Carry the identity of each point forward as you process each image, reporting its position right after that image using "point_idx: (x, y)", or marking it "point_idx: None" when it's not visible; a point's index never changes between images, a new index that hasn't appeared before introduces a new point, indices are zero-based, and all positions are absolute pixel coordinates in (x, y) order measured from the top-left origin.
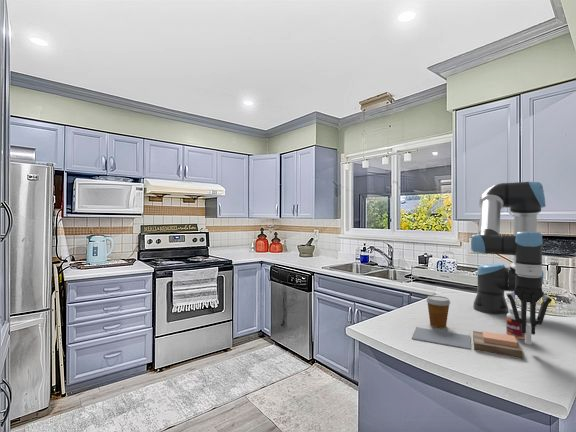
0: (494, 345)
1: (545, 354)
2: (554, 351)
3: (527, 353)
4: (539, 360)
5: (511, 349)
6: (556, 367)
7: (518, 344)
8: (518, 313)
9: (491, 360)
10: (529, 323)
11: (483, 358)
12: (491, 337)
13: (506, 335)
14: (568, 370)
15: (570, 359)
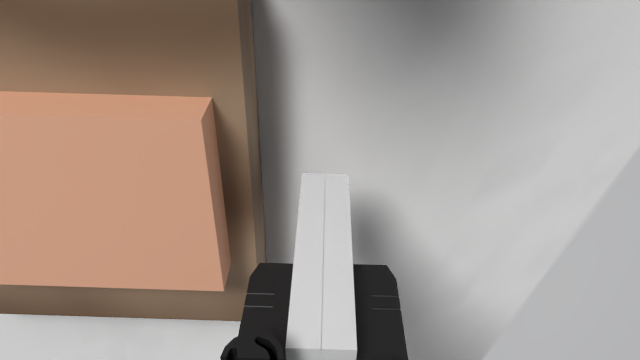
0: (74, 300)
1: (459, 136)
2: (591, 13)
3: None
4: (370, 263)
5: (191, 319)
6: (438, 317)
7: (245, 208)
8: None
9: (106, 357)
10: (350, 347)
11: (63, 350)
12: (9, 262)
13: (121, 144)
14: (491, 328)
15: (623, 159)
